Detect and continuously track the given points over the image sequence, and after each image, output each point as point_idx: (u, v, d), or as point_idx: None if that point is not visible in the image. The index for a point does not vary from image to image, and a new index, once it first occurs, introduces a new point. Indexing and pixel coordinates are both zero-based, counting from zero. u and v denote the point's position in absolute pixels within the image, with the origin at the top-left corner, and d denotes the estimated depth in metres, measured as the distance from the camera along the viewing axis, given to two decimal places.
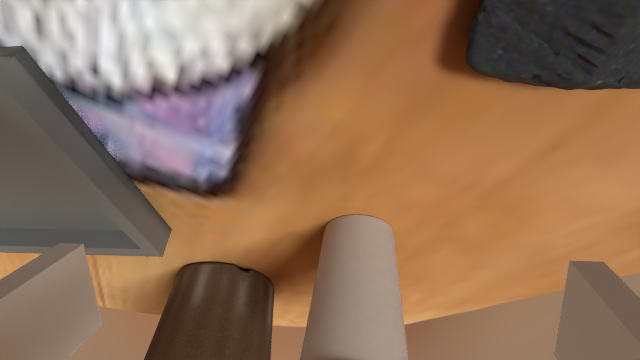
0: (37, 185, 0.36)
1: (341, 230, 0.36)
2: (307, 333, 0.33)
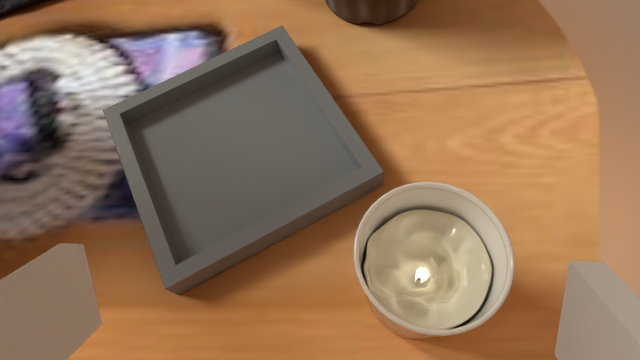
0: (242, 120, 0.45)
1: None
2: None
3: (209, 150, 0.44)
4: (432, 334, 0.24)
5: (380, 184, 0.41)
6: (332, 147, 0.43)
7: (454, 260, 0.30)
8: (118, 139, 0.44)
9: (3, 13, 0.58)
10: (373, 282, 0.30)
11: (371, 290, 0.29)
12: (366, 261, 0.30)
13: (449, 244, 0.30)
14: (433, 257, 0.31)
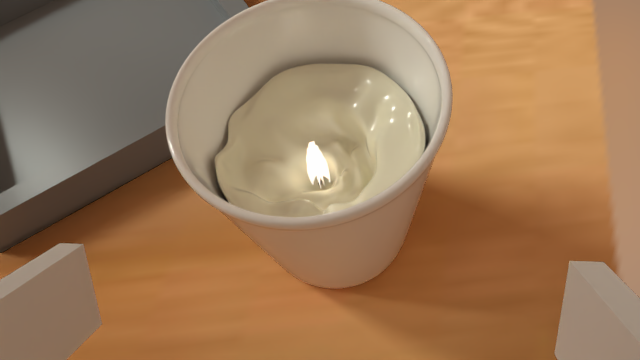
0: (113, 24, 0.34)
1: None
2: None
3: (66, 63, 0.32)
4: (291, 225, 0.12)
5: None
6: None
7: (368, 138, 0.18)
8: None
9: None
10: (236, 181, 0.18)
11: (222, 186, 0.17)
12: (224, 148, 0.18)
13: (359, 110, 0.18)
14: (340, 143, 0.19)
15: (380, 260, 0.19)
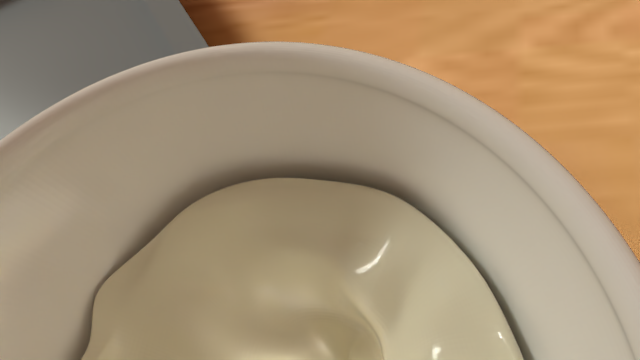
0: (19, 52, 0.24)
1: None
2: None
3: None
4: None
5: None
6: None
7: (388, 355, 0.08)
8: None
9: None
10: None
11: None
12: None
13: (369, 294, 0.08)
14: (327, 337, 0.09)
15: None
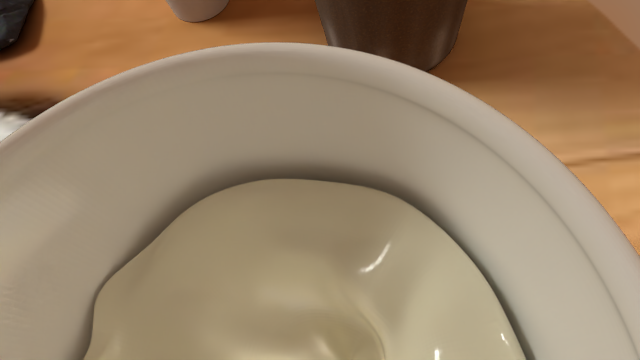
0: None
1: (174, 8, 0.44)
2: None
3: None
4: None
5: None
6: None
7: (390, 357, 0.08)
8: None
9: None
10: None
11: None
12: None
13: (370, 295, 0.08)
14: (329, 338, 0.09)
15: None
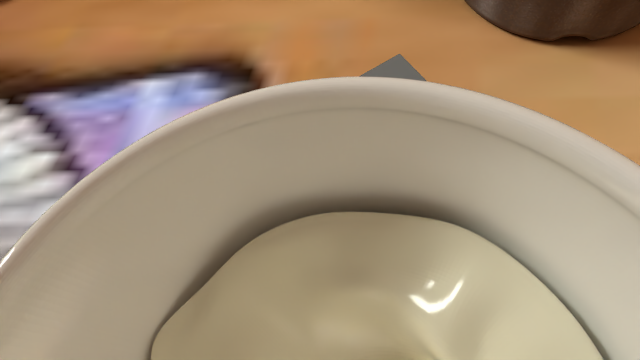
0: None
1: None
2: None
3: None
4: None
5: None
6: None
7: None
8: None
9: None
10: None
11: None
12: None
13: (445, 337, 0.08)
14: None
15: None
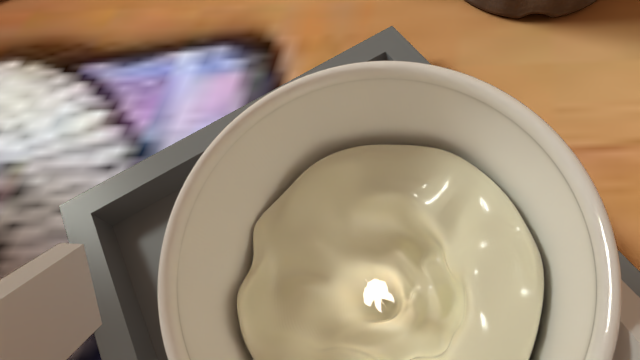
0: None
1: None
2: None
3: None
4: None
5: None
6: None
7: (449, 254, 0.13)
8: None
9: None
10: (268, 320, 0.13)
11: (249, 345, 0.12)
12: (249, 273, 0.13)
13: (434, 216, 0.13)
14: (405, 250, 0.14)
15: None
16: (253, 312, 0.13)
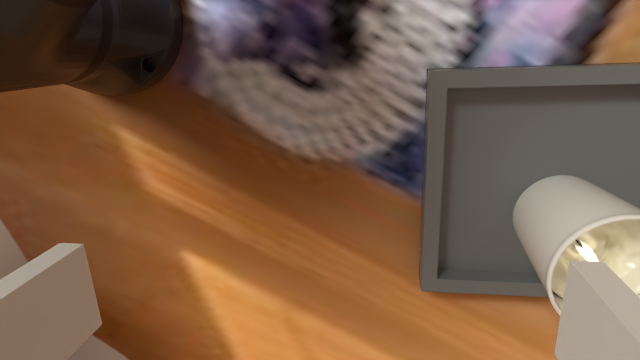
0: (566, 154, 0.39)
1: None
2: None
3: (512, 171, 0.40)
4: None
5: None
6: None
7: (621, 260, 0.33)
8: (433, 124, 0.38)
9: None
10: None
11: None
12: None
13: (632, 251, 0.32)
14: (606, 242, 0.34)
15: None
16: None
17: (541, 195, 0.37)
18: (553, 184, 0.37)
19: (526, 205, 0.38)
